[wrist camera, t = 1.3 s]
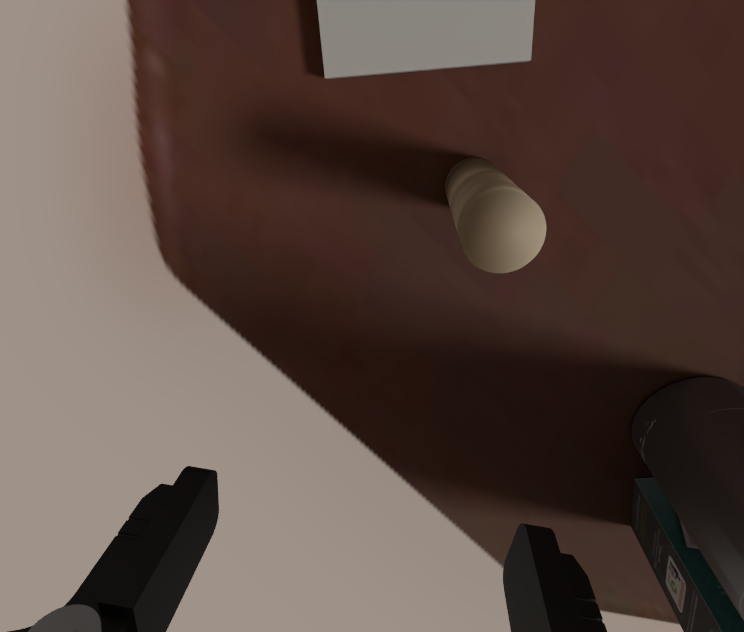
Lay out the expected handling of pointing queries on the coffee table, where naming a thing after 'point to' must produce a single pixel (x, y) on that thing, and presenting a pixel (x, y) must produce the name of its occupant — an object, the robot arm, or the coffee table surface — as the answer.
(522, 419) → the coffee table surface
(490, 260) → the peg
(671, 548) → the cake mix box
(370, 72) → the socket
